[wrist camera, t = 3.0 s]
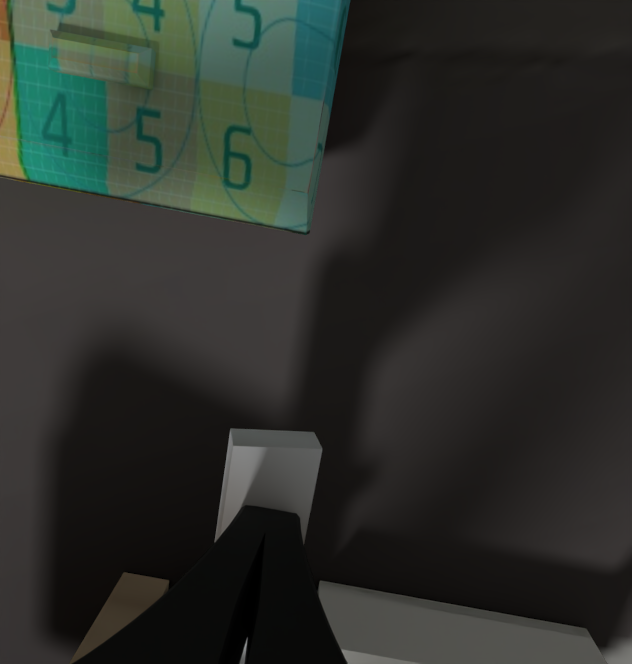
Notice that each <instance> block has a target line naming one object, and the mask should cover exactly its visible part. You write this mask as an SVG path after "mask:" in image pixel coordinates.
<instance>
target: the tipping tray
mask: <svg viewBox="0 0 632 664" xmlns="http://www.w3.org/2000/svg"><path fill="white" fill-rule="evenodd" d="M321 454H322V447H321V445H320V443H319V441H318V439H317V437H316V435H315V433H314V432H302V431H279V430H256V429H232V428H230V435H229V442H228V450H227V457H226V464H225V471H224V478H223V485H222V492H221V499H220V507H219V514H218V521H217V528H216V535H215V542H216V541H217V539H218V538H219V537H220V536H221V535H222V533H223V532H224V531H225V530H226V528H227V527H228V526H229V524H230V523H231V522H232V520H233V519H234V518H235V516H236V515H237V513H238V512H239V510H240V509H241V508H242V507H244V506H245V505H250V506H259V507H264V508H270V509H275V510H281V511H286V512H292V513H297V515H298V516H299V517H300V524H301V533H302V539H303V544H304V542H305V537H306V531H307V526H308V521H309V516H310V511H311V506H312V501H313V495H314V490H315V485H316V480H317V475H318V470H319V465H320V459H321ZM215 542H214V543H215ZM247 638H248V637H247ZM246 646H247V640H246V644H245V647H244V650H243V654H242V657H241V660H240V664H244V663H245V655H246Z"/></svg>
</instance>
